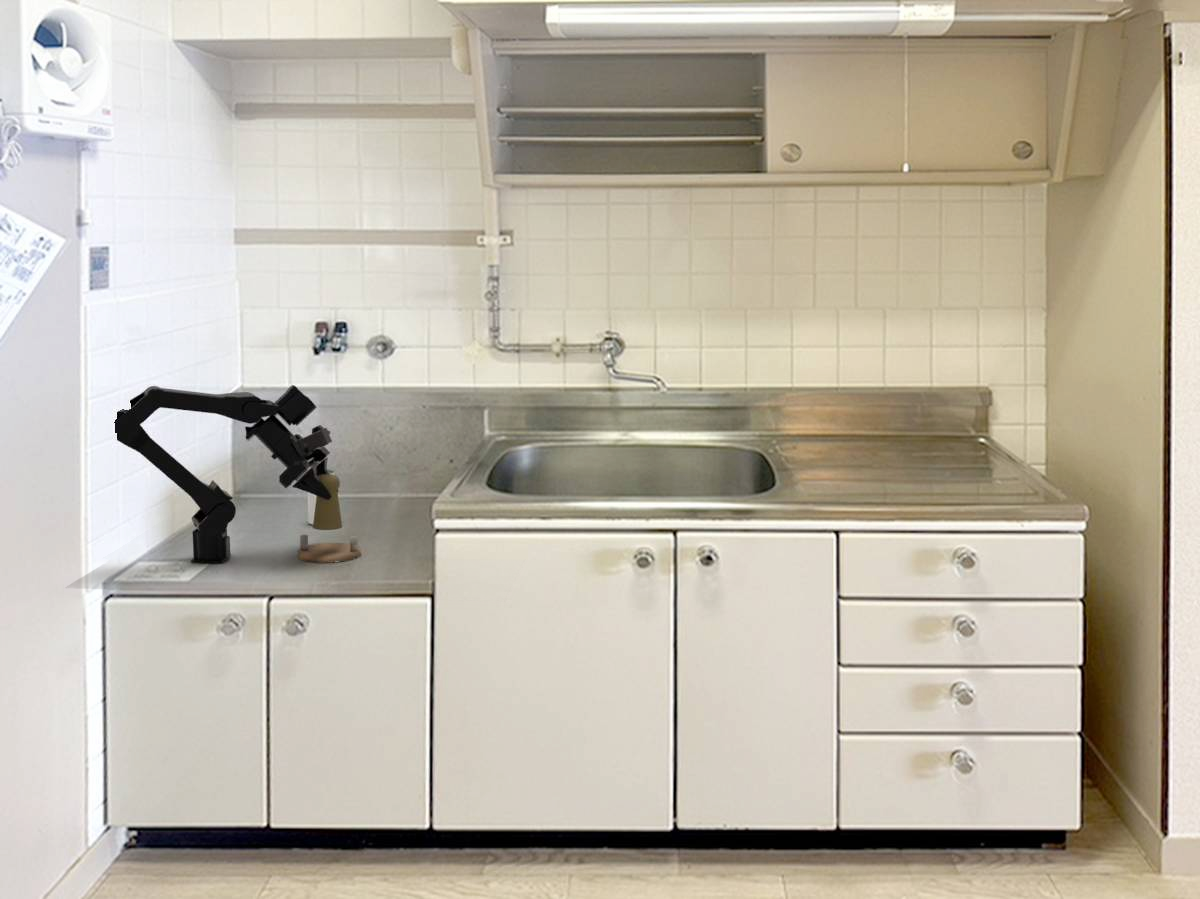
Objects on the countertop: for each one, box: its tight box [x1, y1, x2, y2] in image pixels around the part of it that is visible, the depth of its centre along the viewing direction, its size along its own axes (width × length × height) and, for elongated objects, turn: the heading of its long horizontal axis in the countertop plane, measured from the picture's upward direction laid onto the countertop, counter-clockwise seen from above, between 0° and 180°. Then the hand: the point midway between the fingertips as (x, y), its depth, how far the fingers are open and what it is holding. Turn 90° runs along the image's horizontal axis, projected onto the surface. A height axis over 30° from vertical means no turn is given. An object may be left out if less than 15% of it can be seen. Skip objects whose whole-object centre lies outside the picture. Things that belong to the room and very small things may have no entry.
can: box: [307, 469, 335, 526], centre depth 325 cm, size 6×6×12 cm
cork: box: [312, 474, 343, 531], centre depth 296 cm, size 6×6×11 cm
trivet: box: [296, 534, 362, 563], centre depth 298 cm, size 13×13×4 cm
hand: (333, 495), depth 296 cm, fingers closed on cork, 5 cm apart
